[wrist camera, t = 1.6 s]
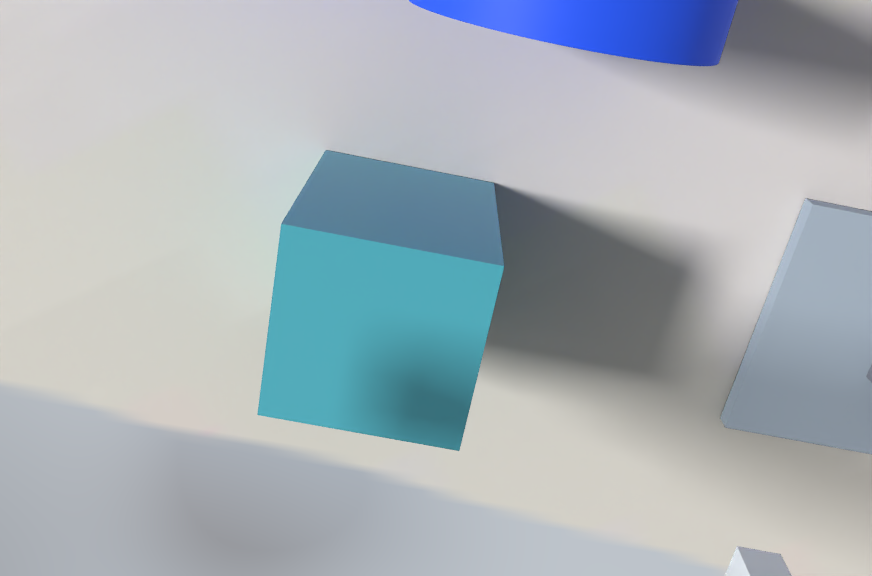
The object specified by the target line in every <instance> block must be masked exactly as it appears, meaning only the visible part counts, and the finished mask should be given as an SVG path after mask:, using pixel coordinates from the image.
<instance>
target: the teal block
mask: <svg viewBox="0 0 872 576" xmlns="http://www.w3.org/2000/svg"><path fill="white" fill-rule="evenodd" d="M503 269H504V260H503V252H502V244H501V236H500V228H499V220H498V212H497V204H496V196H495V188H494V183H492V182H487V181H482V180H477V179H471V178H466V177H461V176H456V175H451V174H446V173H441V172H436V171H430V170H425V169H420V168H415V167H410V166H405V165H400V164H395V163H390V162H384V161H379V160H374V159H369V158H364V157H359V156H354V155H349V154H344V153H338V152H333V151H328V150H326V151H325V152H324V154H323V156H322V157H321V159H320V161H319V162H318V164H317V166H316V167H315V169H314V171H313V172H312V174H311V176H310V177H309V179H308V181H307V182H306V184H305V186H304V187H303V189H302V191H301V192H300V194H299V195H298V197H297V199H296V200H295V202H294V204H293V205H292V207H291V209H290V210H289V212H288V214H287V215H286V217H285V219H284V220H283V222H282V224H281V231H280V239H279V247H278V255H277V263H276V271H275V279H274V287H273V295H272V303H271V311H270V319H269V327H268V335H267V343H266V351H265V359H264V367H263V375H262V383H261V391H260V399H259V407H258V415H261V416H267V417H272V418H278V419H284V420H289V421H295V422H300V423H306V424H312V425H317V426H323V427H328V428H334V429H340V430H345V431H351V432H356V433H362V434H367V435H373V436H379V437H384V438H390V439H395V440H401V441H407V442H412V443H418V444H423V445H429V446H435V447H440V448H446V449H451V450H457V451H459V450H460V446H461V441H462V437H463V433H464V429H465V425H466V421H467V417H468V413H469V409H470V405H471V400H472V396H473V392H474V388H475V384H476V380H477V376H478V372H479V368H480V364H481V360H482V355H483V351H484V347H485V343H486V339H487V335H488V331H489V327H490V323H491V319H492V315H493V310H494V306H495V302H496V298H497V294H498V290H499V286H500V282H501V278H502V274H503Z"/></svg>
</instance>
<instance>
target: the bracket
mask: <svg viewBox="0 0 872 576" xmlns="http://www.w3.org/2000/svg"><path fill="white" fill-rule="evenodd" d="M409 1H410V2H411V3H413V4H415V5H417V6H419V7H421V8H424V9H426V10H429V11H432V12H434V13H437V14H440V15H443V16H446V17H450V18H453V19H456V20H460V21H463V22H467V23H470V24H474V25H478V26H481V27H485V28H489V29H493V30H497V31H501V32H505V33H509V34H513V35H517V36H522V37H526V38H530V39H535V40H539V41H544V42H549V43H553V44H558V45H563V46H568V47H573V48H578V49H583V50H588V51H593V52H599V53H604V54H610V55H616V56H622V57H627V58H634V59H640V60H647V61H654V62H661V63H670V64H679V65H690V66H714V65H717V64H719V61H720V57H721V54H722V51H723V48H724V45H725V41H726V38H727V35H728V32H729V29H730V25H731V22H732V19H733V16H734V13H735V9H736V6H737V3H738V0H409Z"/></svg>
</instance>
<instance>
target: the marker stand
mask: <svg viewBox="0 0 872 576" xmlns="http://www.w3.org/2000/svg"><path fill="white" fill-rule="evenodd" d="M720 418H721V420H722V422H723V424H724V426H725V428H731V429H736V430H742V431H747V432H753V433H758V434H764V435H769V436H774V437H780V438H785V439H791V440H796V441H802V442H807V443H813V444H818V445H824V446H829V447H835V448H840V449H845V450H851V451H856V452H862V453H867V454H872V211H867V210H862V209H857V208H852V207H846V206H841V205H836V204H831V203H826V202H821V201H816V200H811V199H806V198H805V201H804V203H803V206H802V209H801V211H800V214H799V216H798V219H797V221H796V224H795V227H794V229H793V232H792V234H791V237H790V239H789V242H788V245H787V247H786V250H785V252H784V255H783V257H782V260H781V263H780V265H779V268H778V270H777V273H776V275H775V278H774V281H773V283H772V286H771V288H770V291H769V294H768V296H767V299H766V301H765V304H764V306H763V309H762V312H761V314H760V317H759V319H758V322H757V324H756V327H755V330H754V332H753V335H752V337H751V340H750V342H749V345H748V348H747V350H746V353H745V355H744V358H743V360H742V363H741V366H740V368H739V371H738V373H737V376H736V378H735V381H734V384H733V386H732V389H731V391H730V394H729V397H728V399H727V402H726V404H725V407H724V409H723V412H722V415H721V417H720Z"/></svg>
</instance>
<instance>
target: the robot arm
mask: <svg viewBox="0 0 872 576" xmlns="http://www.w3.org/2000/svg"><path fill="white" fill-rule="evenodd" d="M725 576H792V575H791V573H790V572H789V570H788V568H787V566H786V564H785V562H784V560H783V558H782V556H781V554H777V553H772V552H766V551H760V550H755V549H749V548H744V547H738V546H737V548H736V550H735V553H734V555H733V557H732V560H731V562H730V564H729V567H728V569H727V572H726V574H725Z"/></svg>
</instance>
